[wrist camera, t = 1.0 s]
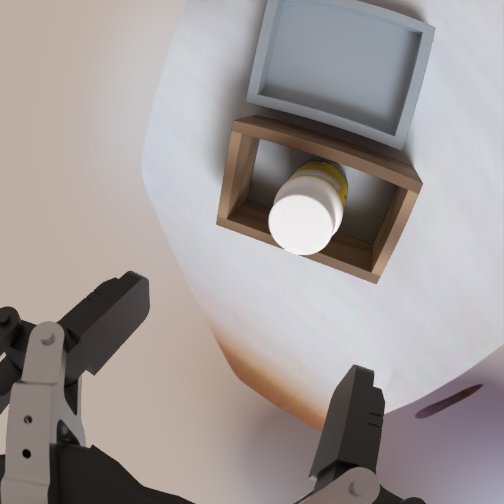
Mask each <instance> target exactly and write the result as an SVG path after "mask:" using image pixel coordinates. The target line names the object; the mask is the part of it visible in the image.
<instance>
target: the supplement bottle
mask: <svg viewBox="0 0 504 504" xmlns="http://www.w3.org/2000/svg"><path fill="white" fill-rule="evenodd" d="M347 194H348V183H347V179H346V177H345V175H344V173H343V172H342V170H341V169H340V168H339V167H338V166H337V165H335V164H333V163H332V162H329V161H326V160H321V159H316V160H311V161H308V162H306V163H304V164H302V165H301V166H300V167H299V168H298V169H297V170H296V171H295V172H294V174H293V175H292V176H291V177H290V178H289V179H288V180H287V181H286V182H285V183H284V184H283V185H282V187H281V188H280V189H279V191H278V193H277V195H276V197H275V200H274V204H273V207H272V209H271V211H270V214H269V229H270V232H271V234H272V236H273V238H274V240H275V241H276V242H277V243H278V244H279V245H280V246H281V247H282V248H284V249H285V250H287V251H289V252H291V253H294V254H298V255H309V254H313V253H316V252H318V251H320V250H322V249H323V248H324V247H325V246H326V245H327V244H328V242H329V241H330V239H331V236H332V235H333V234H334V233H335V232H336V231H337V229H338V228H339V226H340V224H341V221H342V217H343V213H344V208H345V203H346V199H347Z"/></svg>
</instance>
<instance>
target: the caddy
mask: <svg viewBox="0 0 504 504" xmlns="http://www.w3.org/2000/svg"><path fill="white" fill-rule="evenodd" d="M260 139H264V140H267V141H271V142H274V143H278V144H281V145H285V146H288V147H291V148H295V149H298V150H301V151H304V152H307V153H311V154H314V155H317V156H320V157H323V158H326V159H329V160H332V161H335V162H337V163H340V164H343V165H346V166H349V167H352V168H354V169H357V170H360V171H362V172H365V173H368V174H370V175H373V176H376V177H378V178H381V179H383V180H386V181H388V182H391V183H393V184H396V185H397V188H396V190H395V193H394V195H393V198H392V200H391V203H390V205H389V208H388V210H387V213H386V215H385V217H384V220H383V222H382V225H381V227H380V229H379V232H378V234H377V236H376V238H375V241H374V243H373V245H370V244H368V243H365V242H363V241H360V240H358V239H355V238H352V237H350V236H347V235H344V234H342V233H339V232H335V233H334V234H333V235H332V236H331V239H330V241H329V242H328V244H327V245H326V246H325V247H324V248H323V249H322V250H320V251H318V252H316V253H313V254H309V255H300V256H303V257H306V258H308V259H311V260H314V261H316V262H319V263H322V264H324V265H327V266H330V267H332V268H335V269H338V270H340V271H343V272H346V273H348V274H351V275H353V276H356V277H359V278H361V279H364V280H367V281H369V282H372V283H374V284H377V282H378V280H379V278H380V276H381V275H382V273H383V271H384V269H385V267H386V265H387V263H388V261H389V259H390V257H391V255H392V253H393V251H394V249H395V247H396V244H397V242H398V240H399V238H400V236H401V234H402V232H403V229H404V227H405V225H406V223H407V221H408V218H409V216H410V214H411V212H412V209H413V207H414V205H415V202H416V200H417V197H418V195H419V193H420V190H421V188H422V185H423V183H422V181H421V179H420V177H419V176H418V174H417V172H416V170H415V169H414V168H413V167H411V166H408V165H406V164H403V163H401V162H399V161H396V160H394V159H391V158H389V157H386V156H384V155H381V154H379V153H376V152H373V151H371V150H368V149H365V148H363V147H360V146H357V145H354V144H351V143H349V142H346V141H343V140H340V139H337V138H334V137H331V136H328V135H325V134H321V133H318V132H315V131H312V130H308V129H305V128H302V127H298V126H295V125H291V124H288V123H284V122H280V121H277V120H273V119H269V118H265V117H261V116H257V115H254V116H250V117H245V118H241V119H237V120H233V125H232V131H231V136H230V142H229V147H228V153H227V159H226V165H225V171H224V177H223V183H222V189H221V196H220V202H219V209H218V215H217V222H216V225H219V226H222V227H224V228H227V229H230V230H233V231H235V232H238V233H241V234H244V235H246V236H249V237H252V238H254V239H257V240H260V241H263V242H265V243H268V244H271V245H273V246H276V247H279V248H282V247H281V246H280V245H279V244H278V243H277V242H276V241H275V240H274V238H273V236H272V234H271V232H270V229H269V214H270V211H271V209H272V208H269V207H267V206H264V205H261V204H258V203H255V202H252V201H249V200H247V198H248V193H249V188H250V183H251V178H252V173H253V168H254V164H255V159H256V154H257V149H258V144H259V140H260ZM282 249H284V248H282ZM284 250H285V249H284Z"/></svg>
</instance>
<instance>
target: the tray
mask: <svg viewBox="0 0 504 504" xmlns="http://www.w3.org/2000/svg"><path fill="white" fill-rule="evenodd" d="M434 32H435V27H434V26H431V25H429V24H426V23H424V22H421V21H419V20H416V19H414V18H411V17H408V16H406V15H403V14H400V13H397V12H394V11H391V10H388V9H385V8H382V7H379V6H376V5H372V4H369V3H365V2H361V1H358V0H267V4H266V9H265V13H264V17H263V22H262V26H261V31H260V35H259V40H258V44H257V49H256V54H255V58H254V63H253V68H252V73H251V77H250V82H249V87H248V92H247V97H246V103H250V104H255V105H259V106H263V107H268V108H272V109H276V110H280V111H284V112H287V113H291V114H295V115H298V116H302V117H305V118H309V119H312V120H316V121H319V122H322V123H326V124H329V125H332V126H335V127H338V128H341V129H344V130H347V131H350V132H353V133H356V134H359V135H361V136H364V137H367V138H370V139H372V140H375V141H378V142H380V143H383V144H385V145H388V146H390V147H393V148H395V149H398V150H400V151H402V148H403V146H404V143H405V140H406V136H407V133H408V130H409V127H410V124H411V121H412V118H413V114H414V111H415V108H416V104H417V101H418V97H419V94H420V90H421V86H422V83H423V79H424V75H425V71H426V67H427V63H428V59H429V55H430V51H431V46H432V42H433V37H434Z"/></svg>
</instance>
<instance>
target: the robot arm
mask: <svg viewBox="0 0 504 504" xmlns="http://www.w3.org/2000/svg"><path fill="white" fill-rule="evenodd" d="M149 309H150V300H149V281H148V279H147V278H145V277H143V276H141V275H139V274H137V273H135V272H133V271H128V272H127V273H125V274H124V275H123V276H122V277H121V278H119V279H117V278H113V279H111V280H108V281H105V282H103V283H102V284H101V285H99V286H98V287H97V288H96V289H95V290H94V292H92V293H90V294H89V295H88V296H87V297H86V299H85V298H84V299H83V300H82V301H81V302H80V303H79V304H78V305H76V306H75V307H74V308H73V309H72V310H71V311H70V312H68V313H67V314H66V315H65V316H64V317H63V318H62V319H61V320H60V321H58V322H56V323H55V322H50V321H49V322H43V323H40V324H39V325H35V324H32V323H29V322H26V321H23V320H21V319H20V316H19V314H18V312H17V310H16V309H14V308H12V307H3V308H0V356H1V355H2V354H3V353H4V352H5V354H6V356H5V358H4V359H3V360H2V361H1V362H0V414H1V413H2V412H3V410H4V409H5V408H6V406H7V405H8V404H9V403H10V404H9V412H8V423H7V435H6V454H3V455H0V504H195V503H192V502H190V501H188V500H186V499H184V498H182V497H180V496H176V495H173V494H168V493H165V492H161V491H157V490H154V489H150V488H147V487H144V486H143V485H141V484H140V483H139V482H138V481H137V480H136V479H135V478H133V476H132V475H131V474H130V473H129V472H128V471H126V469H124V467H122V465H121V464H120V463H119V462H117V461H116V460H114V459H113V458H111V457H110V456H108V455H107V454H105V453H104V452H102V451H101V450H100V449H98V448H97V447H95V446H94V445H92V446H91V448H87V447H86V441H85V433H84V428H83V425H82V421H81V387H82V376H81V374H82V373H83V372H84V371H85V370H87V371H89V372H90V373H91V374H93V375H95V374H96V373H97V372H98V371H99V370H100V369H101V368H102V367H103V365H104V364H105V363H106V362H107V361H108V360H109V359H110V358H111V356H112V355H113V354H114V353H115V352H116V351H117V350H118V349H119V348H120V346H121V345H122V344H123V343H124V342H125V341H126V340H127V339H128V338H129V337H130V335H131V334H132V333H133V332H134V331H135V330H136V329H137V328H138V327H139V326H140V324H141V323H142V322H143V321H144V320H145V318H146V317H147V315H148V313H149ZM373 382H374V371H373V370H370V369H367V368H364V367H361V366H358V365H353V366H352V367H351V369H350V370H349V371H348V373H347V374H346V375H345V377H344V378H343V379H342V381H341V382H340V383H339V385H338V386H337V387H336V389H335V391H334V393H333V395H332V398H331V401H330V405H329V409H328V413H327V417H326V420H325V424H324V428H323V431H322V435H321V438H320V442H319V445H318V449H317V452H316V455H315V458H314V461H313V465H312V468H311V471H310V474H309V477H308V479H311V480H315V481H316V484H315V488H314V490H312V491H311V492H309V493H308V494H306V495H305V496H303V497H302V498H300V499H298V500H297V501H296V502H294V503H292V504H426V503H425V502H424V501H423V500H422V499H420V498H416V497H412V498H407V499H405V500H403V499H401V498H399V497H398V496H396V495H394V494H392V493H390V492H389V491H387V490H386V489H384V488H383V487H382V486H381V484H380V483H379V480H378V478H377V476H376V464H377V458H378V452H379V446H380V439H381V432H382V429H381V428H382V425H383V416H384V408H385V400H384V397H383V393H382V390H381V389H379V388H376V387H373Z"/></svg>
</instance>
